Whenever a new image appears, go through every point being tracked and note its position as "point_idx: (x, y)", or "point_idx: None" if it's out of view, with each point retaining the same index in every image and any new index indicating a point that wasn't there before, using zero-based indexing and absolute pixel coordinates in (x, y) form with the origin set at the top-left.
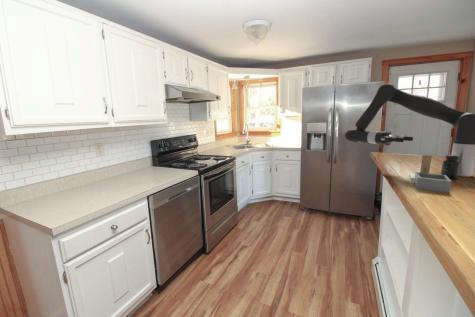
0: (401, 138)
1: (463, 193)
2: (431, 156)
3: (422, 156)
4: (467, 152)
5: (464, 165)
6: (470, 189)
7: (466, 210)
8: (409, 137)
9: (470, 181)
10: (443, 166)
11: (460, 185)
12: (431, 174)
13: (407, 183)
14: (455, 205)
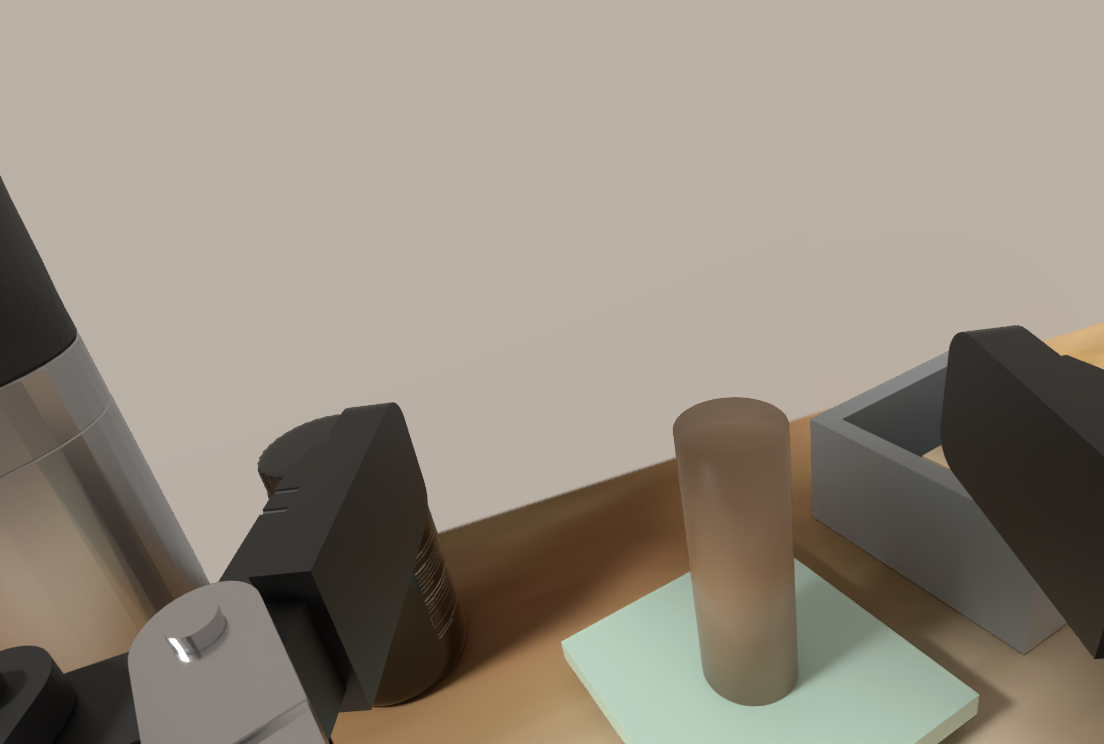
0: (1038, 364)
1: (808, 437)
2: (714, 404)
3: (780, 458)
4: (123, 418)
5: (186, 542)
6: (658, 463)
7: (1098, 332)
8: (375, 469)
9: None
10: (414, 572)
11: (603, 517)
12: (920, 458)
13: (1093, 699)
14: (1098, 362)
